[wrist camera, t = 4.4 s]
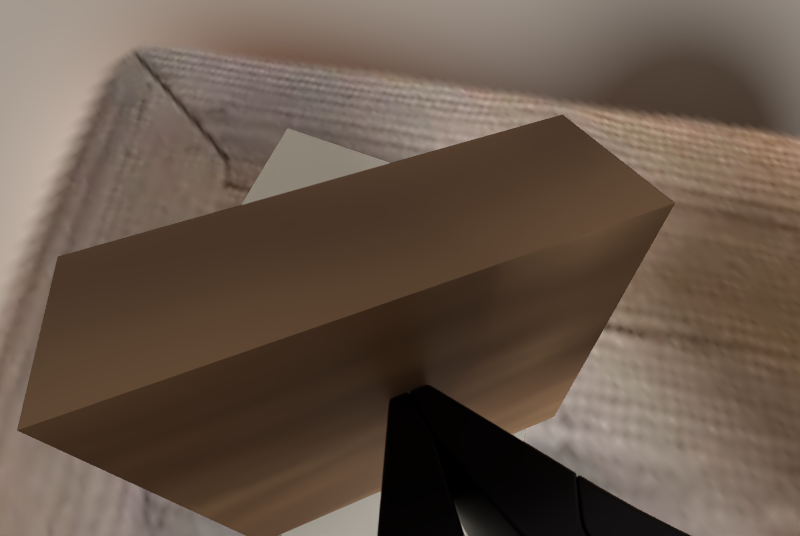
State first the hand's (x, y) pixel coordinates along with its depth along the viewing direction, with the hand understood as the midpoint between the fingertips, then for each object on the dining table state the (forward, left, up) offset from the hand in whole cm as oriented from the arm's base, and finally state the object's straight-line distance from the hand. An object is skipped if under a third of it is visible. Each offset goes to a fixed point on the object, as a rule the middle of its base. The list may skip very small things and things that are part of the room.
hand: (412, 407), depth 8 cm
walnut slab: (0, 0, -6) cm, 6 cm away
